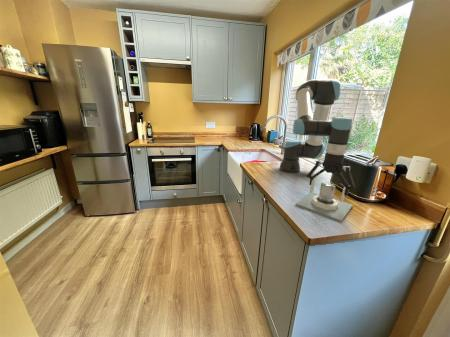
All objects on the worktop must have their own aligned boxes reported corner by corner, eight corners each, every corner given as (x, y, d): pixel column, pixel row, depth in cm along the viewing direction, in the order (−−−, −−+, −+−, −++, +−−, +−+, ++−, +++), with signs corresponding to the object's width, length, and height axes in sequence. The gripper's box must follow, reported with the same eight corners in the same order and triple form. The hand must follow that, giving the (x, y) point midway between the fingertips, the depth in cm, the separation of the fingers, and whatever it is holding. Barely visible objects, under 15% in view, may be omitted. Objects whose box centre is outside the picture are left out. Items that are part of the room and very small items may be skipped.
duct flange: (310, 193, 106) (311, 188, 105) (352, 206, 92) (353, 200, 92) (295, 205, 92) (296, 199, 91) (341, 222, 79) (342, 216, 78)
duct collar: (315, 203, 92) (319, 184, 89) (319, 199, 96) (323, 181, 93) (328, 208, 88) (333, 188, 85) (332, 204, 92) (337, 185, 89)
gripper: (304, 149, 90) (297, 190, 96) (367, 160, 73) (354, 208, 80) (310, 147, 95) (303, 186, 101) (370, 157, 78) (358, 202, 85)
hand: (325, 196), depth 91 cm, fingers open, 13 cm apart
